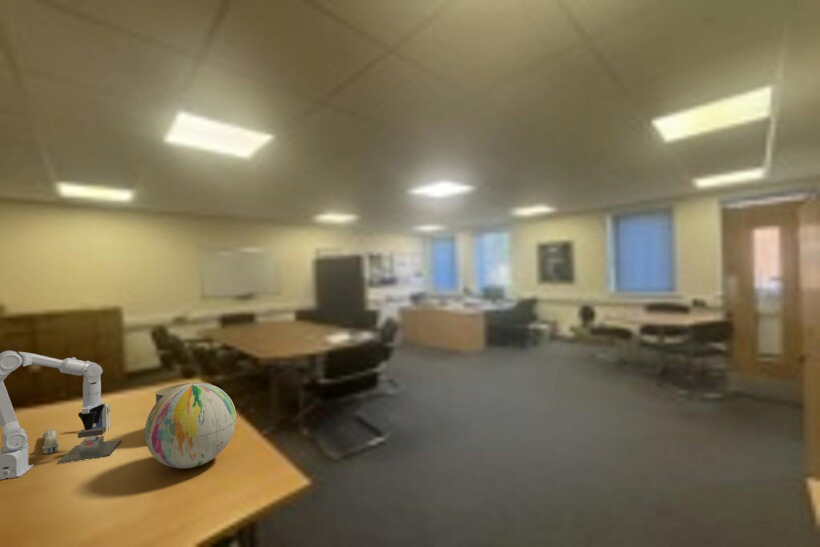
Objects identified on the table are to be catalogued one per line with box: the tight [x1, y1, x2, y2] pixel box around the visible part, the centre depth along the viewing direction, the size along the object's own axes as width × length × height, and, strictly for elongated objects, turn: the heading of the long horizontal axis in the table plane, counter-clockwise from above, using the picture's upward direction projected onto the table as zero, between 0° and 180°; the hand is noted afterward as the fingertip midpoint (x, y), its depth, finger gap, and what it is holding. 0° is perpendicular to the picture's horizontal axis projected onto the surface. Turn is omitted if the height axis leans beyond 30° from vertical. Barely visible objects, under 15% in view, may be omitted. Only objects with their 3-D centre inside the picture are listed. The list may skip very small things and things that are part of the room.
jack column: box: [77, 427, 107, 442], centre depth 161 cm, size 4×8×8 cm, turn 112°
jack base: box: [58, 435, 123, 465], centre depth 161 cm, size 16×16×5 cm
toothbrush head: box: [41, 428, 60, 454], centre depth 169 cm, size 5×7×25 cm
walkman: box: [92, 403, 111, 431], centre depth 186 cm, size 8×3×12 cm, turn 98°
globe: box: [144, 382, 237, 469], centre depth 148 cm, size 30×30×30 cm
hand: (92, 426), depth 161 cm, fingers open, 7 cm apart
